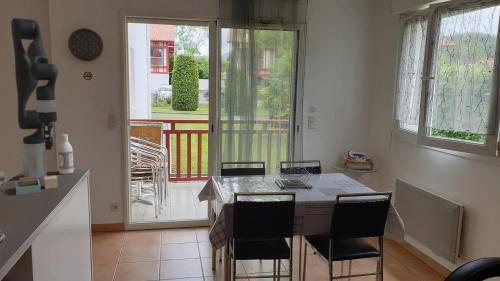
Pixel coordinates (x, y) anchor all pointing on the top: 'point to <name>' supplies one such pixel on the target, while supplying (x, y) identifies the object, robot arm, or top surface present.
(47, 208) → the top surface
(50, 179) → the light box
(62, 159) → the bath foam
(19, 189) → the tote
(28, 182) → the block
